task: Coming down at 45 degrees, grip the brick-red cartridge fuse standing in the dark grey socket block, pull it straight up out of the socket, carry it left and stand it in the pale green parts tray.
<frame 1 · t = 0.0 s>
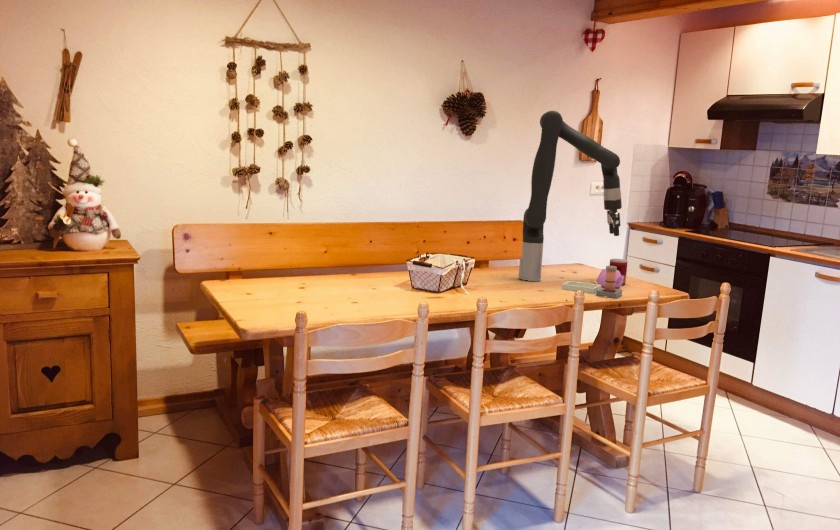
hand: (614, 234, 316), 22 cm above the table, tool pointing down, fingers open, 8 cm apart
socket block: (608, 297, 289), on the table
fuse: (608, 295, 288), point 1 cm above the table, touching socket block
canned food: (616, 284, 320), on the table
parts tray: (581, 291, 298), on the table
teapot: (610, 289, 308), on the table
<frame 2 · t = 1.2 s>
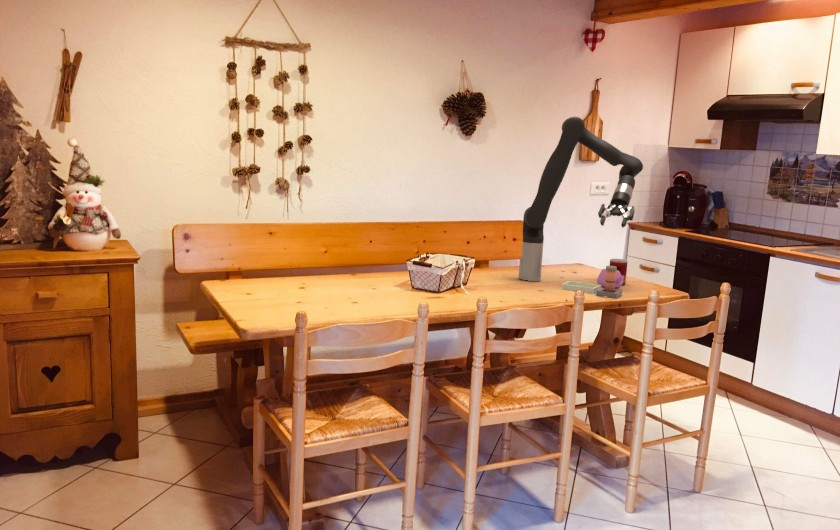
hand: (612, 225, 294), 29 cm above the table, tool tilted 45°, fingers open, 8 cm apart
nothing on the table moved.
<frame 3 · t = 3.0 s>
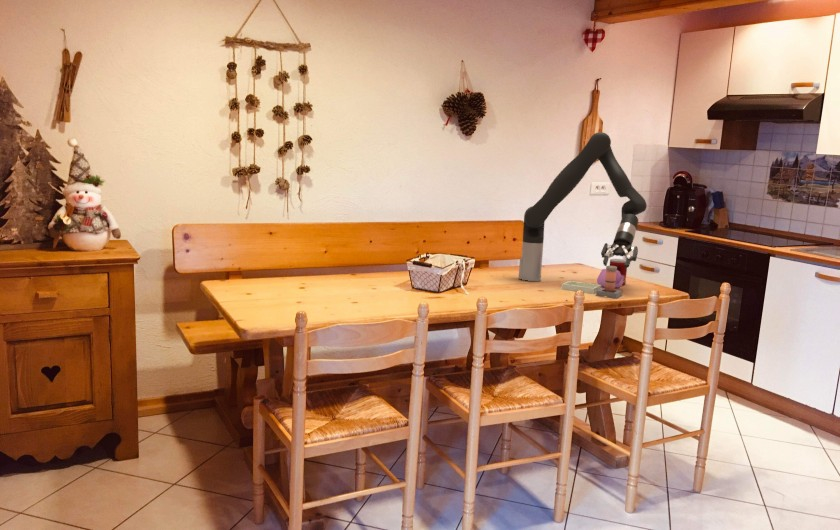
hand: (615, 266, 291), 12 cm above the table, tool tilted 45°, fingers open, 8 cm apart
nothing on the table moved.
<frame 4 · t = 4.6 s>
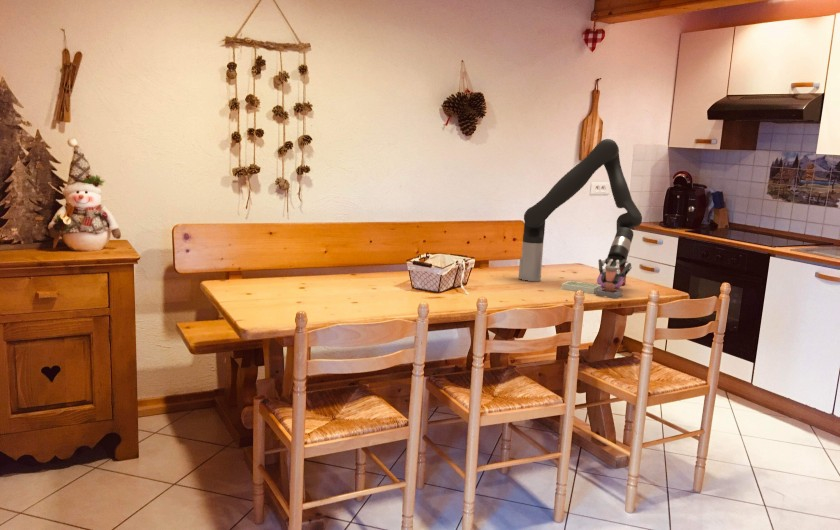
hand: (608, 282, 286), 7 cm above the table, tool tilted 45°, fingers closed on fuse, 4 cm apart
fuse: (608, 295, 288), point 1 cm above the table, touching gripper, socket block
everything else where it was.
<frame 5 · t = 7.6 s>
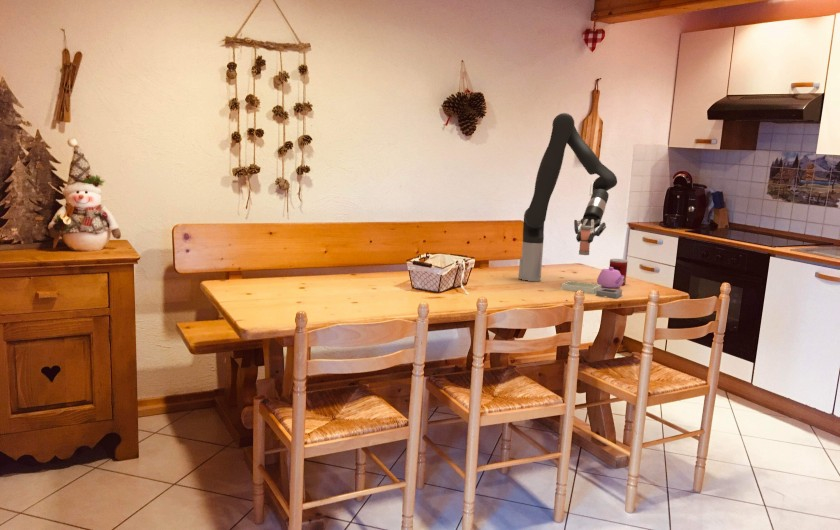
hand: (583, 241, 293), 22 cm above the table, tool tilted 45°, fingers closed on fuse, 4 cm apart
fuse: (584, 254, 296), point 16 cm above the table, touching gripper
everything else where it was.
when the fingers open (8 cm above the table, at t = 10.4 s): fuse drops 1 cm, resting on parts tray.
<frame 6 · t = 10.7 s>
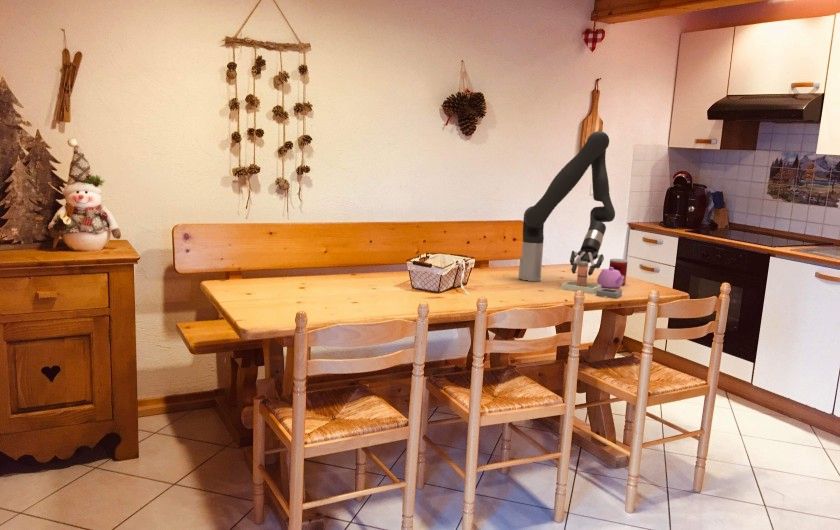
hand: (581, 273, 296), 8 cm above the table, tool tilted 45°, fingers open, 6 cm apart
fuse: (581, 289, 298), point 1 cm above the table, touching parts tray
everything else where it was.
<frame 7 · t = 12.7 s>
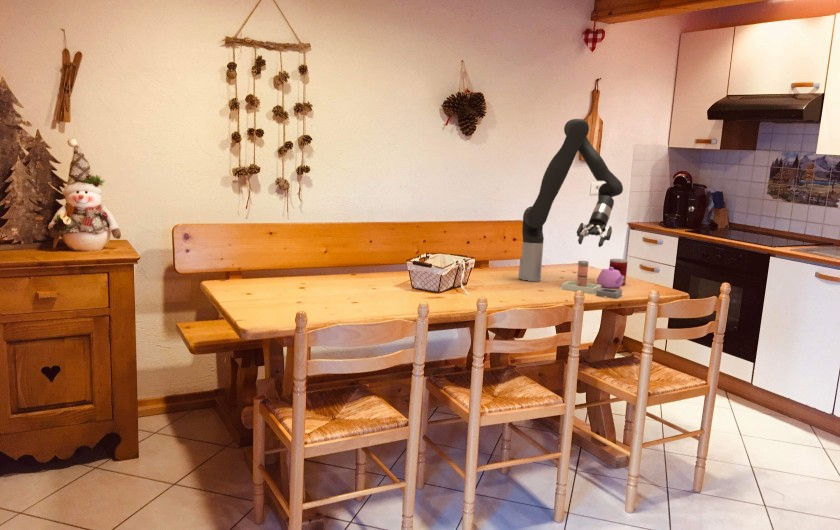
hand: (589, 244, 301), 19 cm above the table, tool tilted 45°, fingers open, 8 cm apart
nothing on the table moved.
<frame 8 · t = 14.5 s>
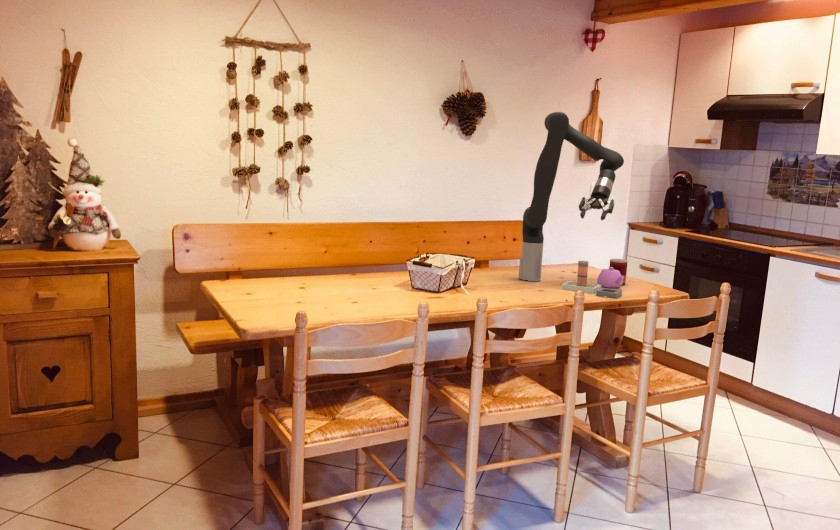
hand: (591, 218, 299), 31 cm above the table, tool tilted 45°, fingers open, 8 cm apart
nothing on the table moved.
at the end: fuse inside the target area on the parts tray (0.1 cm from its centre), point 0.8 cm above the parts tray's base; the gripper is holding nothing; fuse touching parts tray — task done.
